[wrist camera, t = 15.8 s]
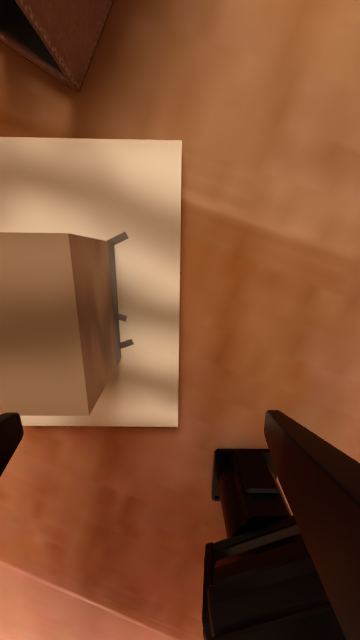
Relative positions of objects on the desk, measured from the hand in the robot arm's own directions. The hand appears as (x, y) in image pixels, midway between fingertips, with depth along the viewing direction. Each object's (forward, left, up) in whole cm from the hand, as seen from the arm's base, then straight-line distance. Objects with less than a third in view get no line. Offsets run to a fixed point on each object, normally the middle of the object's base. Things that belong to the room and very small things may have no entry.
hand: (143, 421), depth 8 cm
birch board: (+2, +6, -12) cm, 13 cm away
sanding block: (+2, +6, -10) cm, 12 cm away
